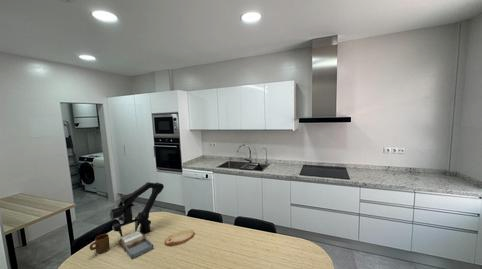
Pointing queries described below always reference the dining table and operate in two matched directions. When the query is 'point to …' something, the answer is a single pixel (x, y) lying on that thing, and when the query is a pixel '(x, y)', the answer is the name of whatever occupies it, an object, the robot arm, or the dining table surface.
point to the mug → (101, 243)
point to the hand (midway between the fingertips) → (128, 234)
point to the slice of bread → (179, 238)
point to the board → (132, 243)
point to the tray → (139, 249)
